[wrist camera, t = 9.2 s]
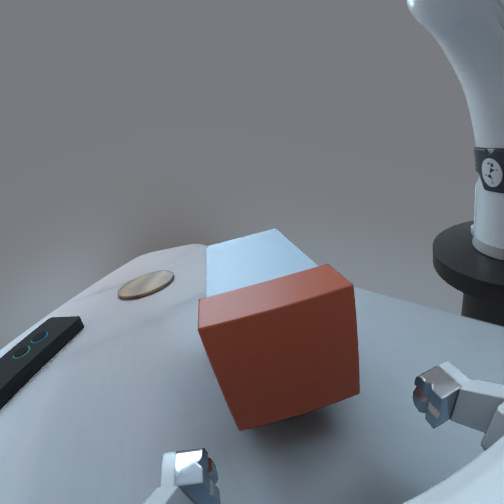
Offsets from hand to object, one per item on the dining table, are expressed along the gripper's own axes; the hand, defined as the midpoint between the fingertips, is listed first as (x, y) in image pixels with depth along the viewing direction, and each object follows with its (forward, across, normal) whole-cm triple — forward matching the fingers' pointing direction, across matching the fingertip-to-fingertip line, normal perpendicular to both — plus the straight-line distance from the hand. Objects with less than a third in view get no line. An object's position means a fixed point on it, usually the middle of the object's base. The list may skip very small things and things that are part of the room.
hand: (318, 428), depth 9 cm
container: (+11, 0, -3) cm, 11 cm away
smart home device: (+21, -31, -6) cm, 37 cm away
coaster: (+40, -16, -6) cm, 43 cm away
